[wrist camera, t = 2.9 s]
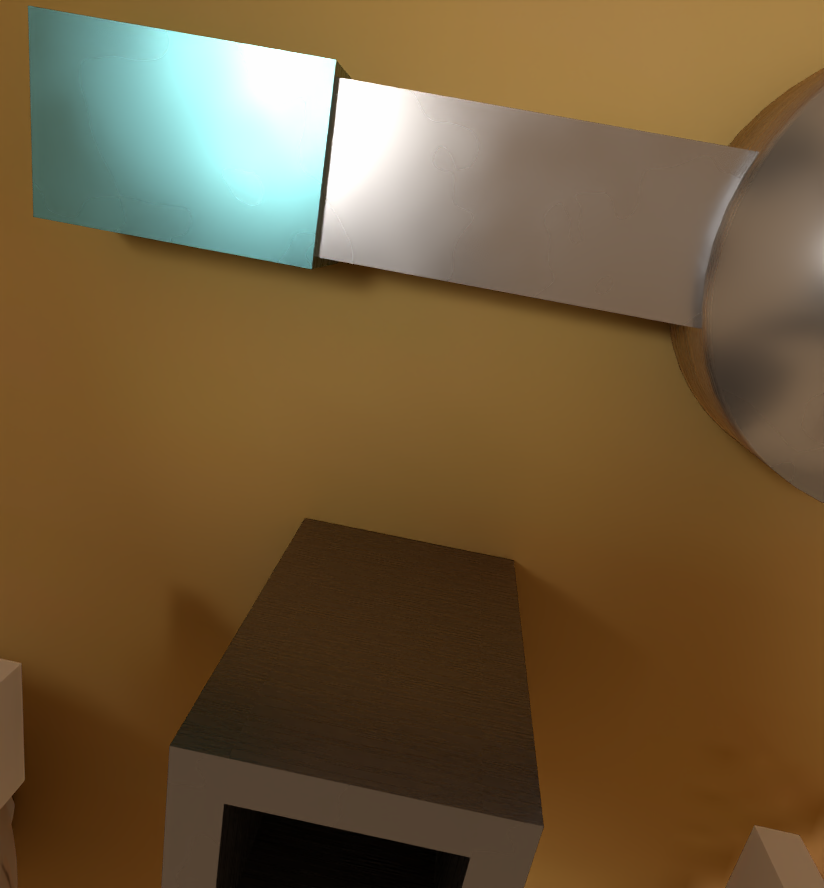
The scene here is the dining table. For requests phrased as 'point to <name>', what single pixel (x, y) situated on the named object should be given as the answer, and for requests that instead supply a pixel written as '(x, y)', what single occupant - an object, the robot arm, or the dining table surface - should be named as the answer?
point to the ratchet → (458, 200)
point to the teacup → (7, 847)
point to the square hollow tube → (362, 728)
